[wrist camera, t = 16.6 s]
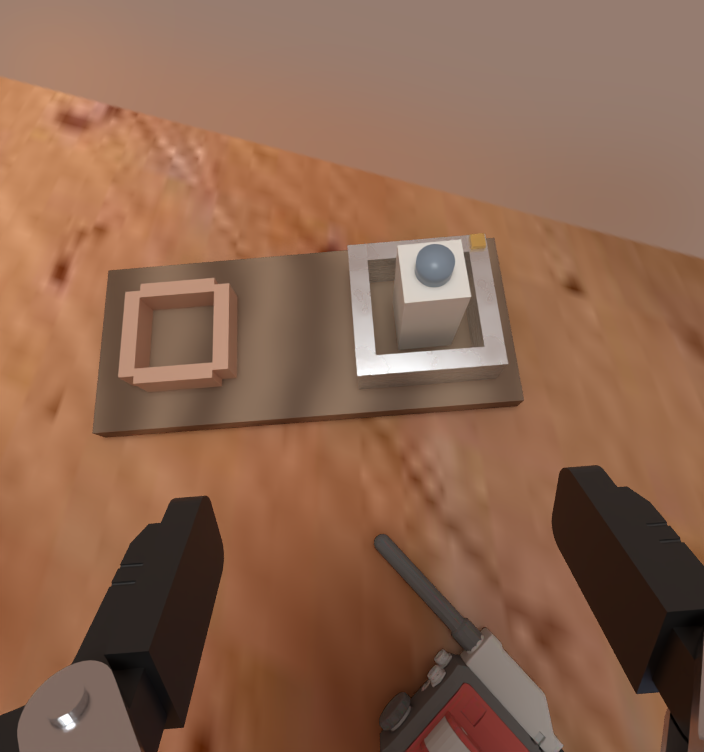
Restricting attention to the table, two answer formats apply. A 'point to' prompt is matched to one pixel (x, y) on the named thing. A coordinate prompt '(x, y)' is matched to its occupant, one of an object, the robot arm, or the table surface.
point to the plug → (429, 293)
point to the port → (428, 365)
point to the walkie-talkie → (464, 689)
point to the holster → (140, 331)
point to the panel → (279, 351)
